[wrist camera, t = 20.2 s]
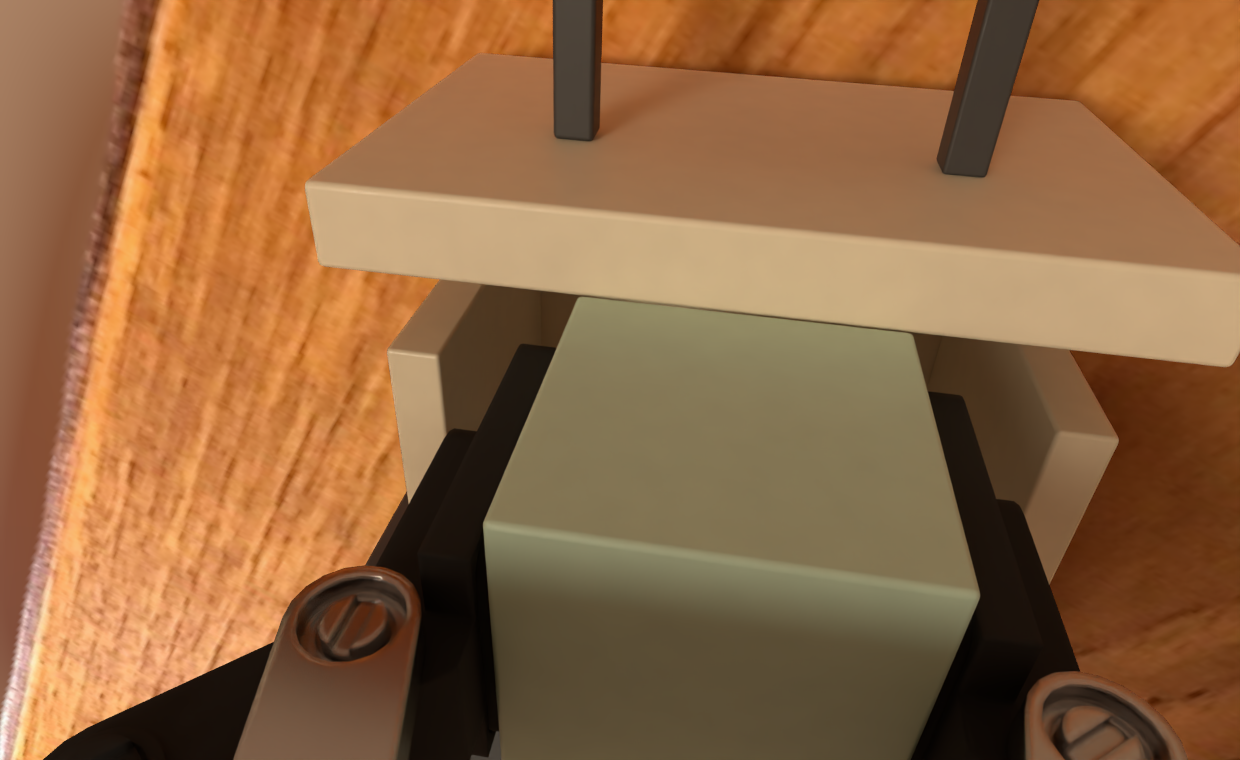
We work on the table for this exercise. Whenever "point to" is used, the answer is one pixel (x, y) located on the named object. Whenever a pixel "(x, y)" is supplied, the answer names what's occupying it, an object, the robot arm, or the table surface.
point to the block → (724, 544)
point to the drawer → (787, 234)
